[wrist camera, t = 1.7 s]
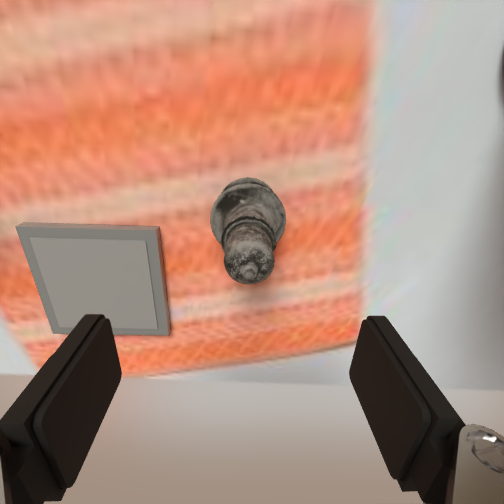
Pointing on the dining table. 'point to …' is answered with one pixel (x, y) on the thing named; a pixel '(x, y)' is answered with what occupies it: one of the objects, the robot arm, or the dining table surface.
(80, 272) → the coaster
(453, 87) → the dining table surface
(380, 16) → the dining table surface
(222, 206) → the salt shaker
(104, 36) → the dining table surface
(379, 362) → the robot arm
